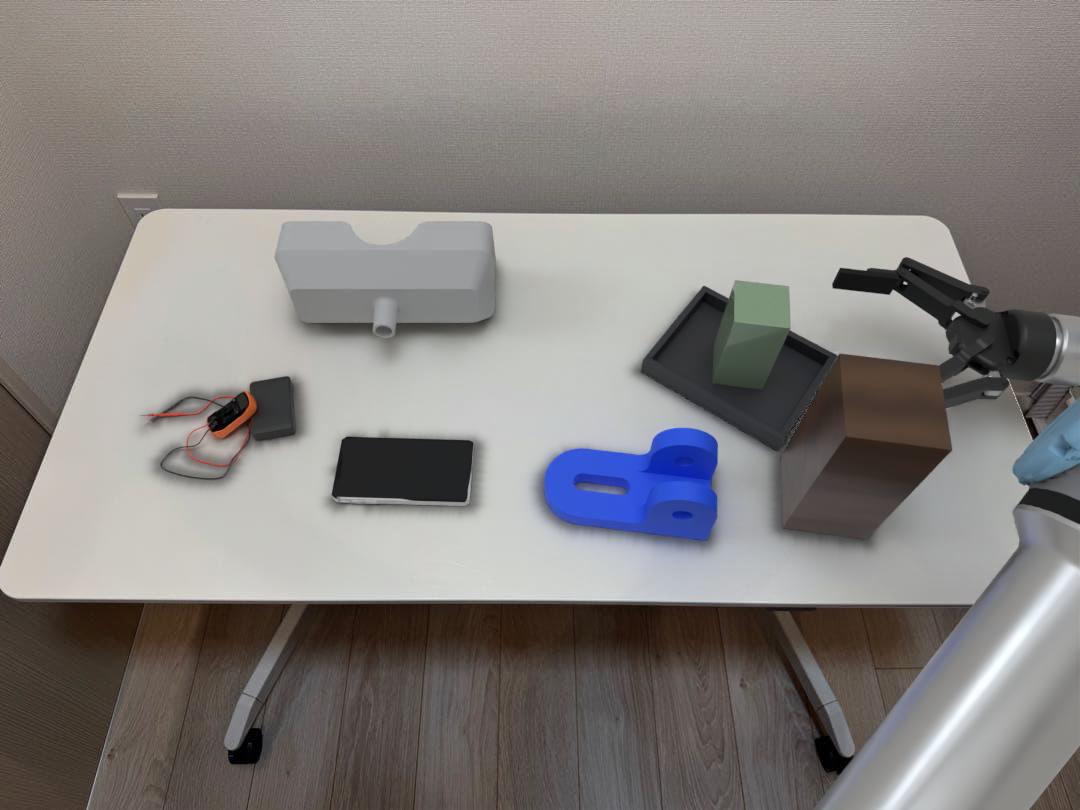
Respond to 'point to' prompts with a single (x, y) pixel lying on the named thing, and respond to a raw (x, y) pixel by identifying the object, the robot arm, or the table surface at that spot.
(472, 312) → the tank
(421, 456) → the smartphone
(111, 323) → the table surface
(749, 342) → the green block
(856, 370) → the stand
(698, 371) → the tray
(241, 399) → the multimeter
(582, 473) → the bracket
